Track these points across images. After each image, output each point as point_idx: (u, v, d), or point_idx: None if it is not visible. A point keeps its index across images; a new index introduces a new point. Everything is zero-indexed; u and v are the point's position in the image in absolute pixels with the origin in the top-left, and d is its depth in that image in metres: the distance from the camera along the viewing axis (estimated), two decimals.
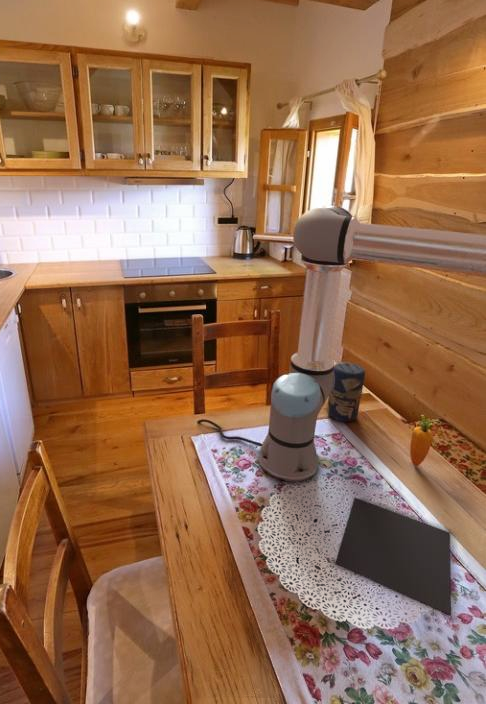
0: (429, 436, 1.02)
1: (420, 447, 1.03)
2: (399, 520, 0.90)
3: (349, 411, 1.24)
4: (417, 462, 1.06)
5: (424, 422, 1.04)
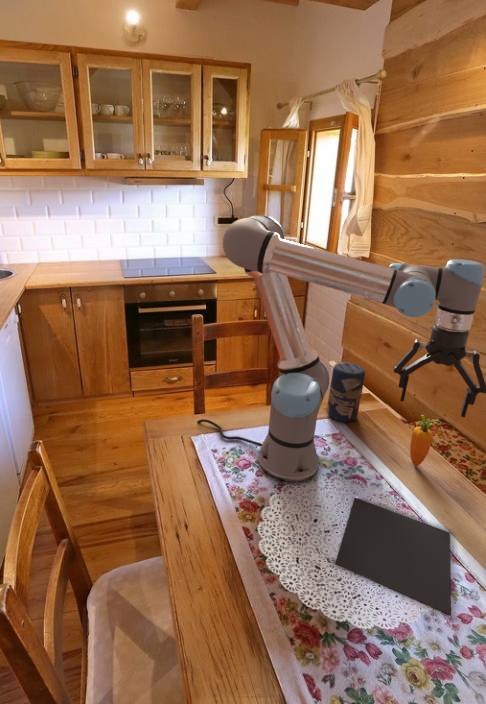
0: (429, 436, 1.02)
1: (420, 447, 1.03)
2: (399, 520, 0.90)
3: (349, 411, 1.24)
4: (417, 462, 1.06)
5: (424, 422, 1.04)
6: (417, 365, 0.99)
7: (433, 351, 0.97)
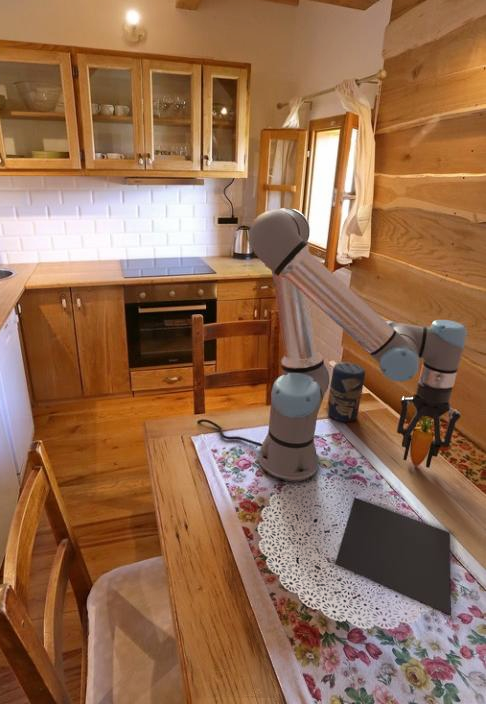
0: (429, 436, 1.02)
1: (420, 447, 1.03)
2: (399, 520, 0.90)
3: (349, 411, 1.24)
4: (417, 462, 1.06)
5: (424, 422, 1.04)
6: (413, 423, 1.04)
7: (419, 404, 1.02)
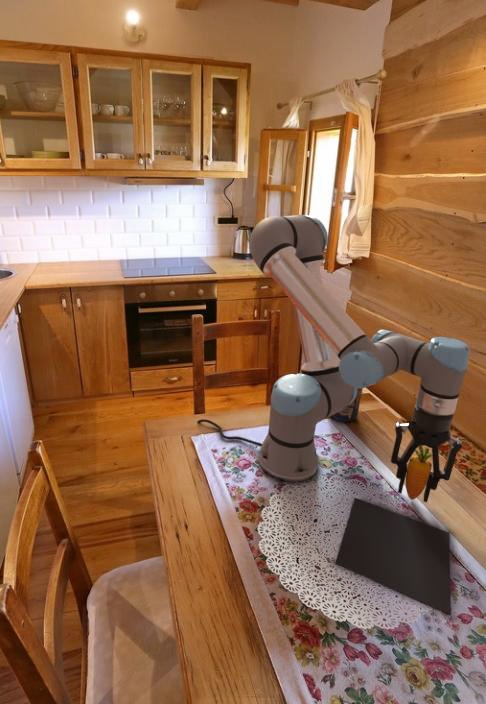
0: (427, 467, 0.91)
1: (417, 480, 0.92)
2: (399, 520, 0.90)
3: (349, 411, 1.24)
4: (413, 495, 0.94)
5: (421, 451, 0.92)
6: (408, 452, 0.92)
7: (415, 432, 0.90)
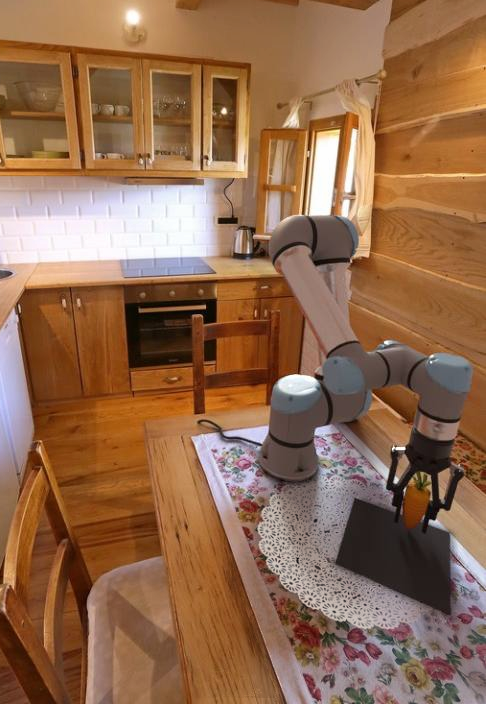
0: (426, 496, 0.82)
1: (414, 509, 0.83)
2: (399, 520, 0.90)
3: None
4: (411, 526, 0.86)
5: (419, 478, 0.84)
6: (405, 479, 0.83)
7: (413, 457, 0.81)
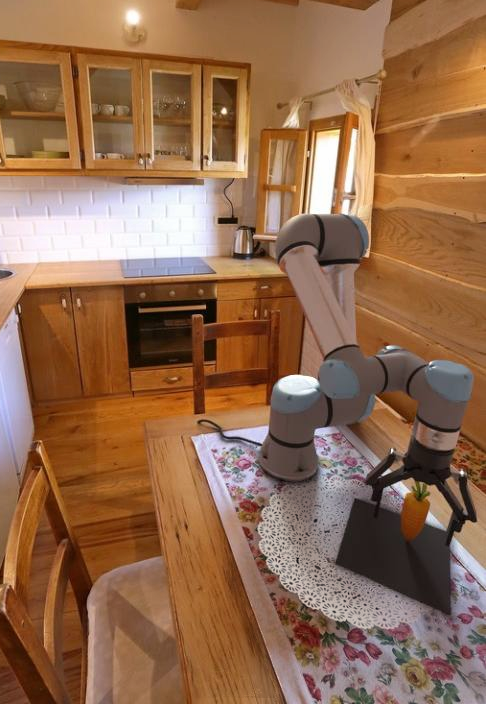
0: (425, 507, 0.80)
1: (413, 520, 0.81)
2: (399, 520, 0.90)
3: None
4: (409, 537, 0.83)
5: (418, 488, 0.81)
6: (392, 480, 0.81)
7: (411, 466, 0.79)
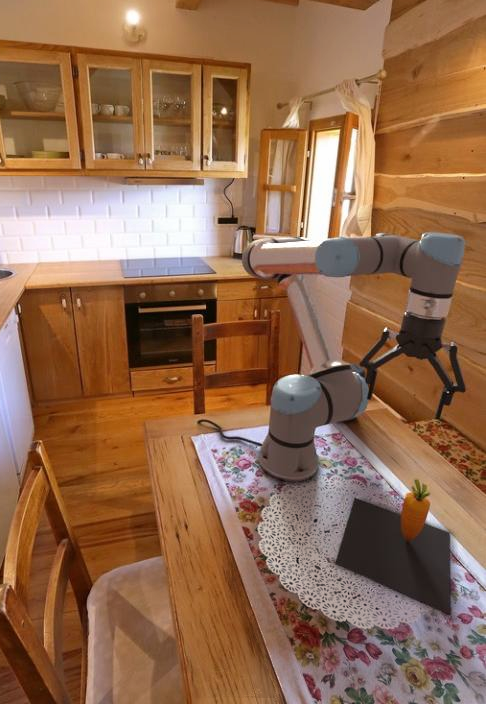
0: (425, 507, 0.80)
1: (413, 520, 0.81)
2: (399, 520, 0.90)
3: None
4: (409, 537, 0.83)
5: (418, 488, 0.81)
6: (386, 358, 0.85)
7: (404, 342, 0.82)
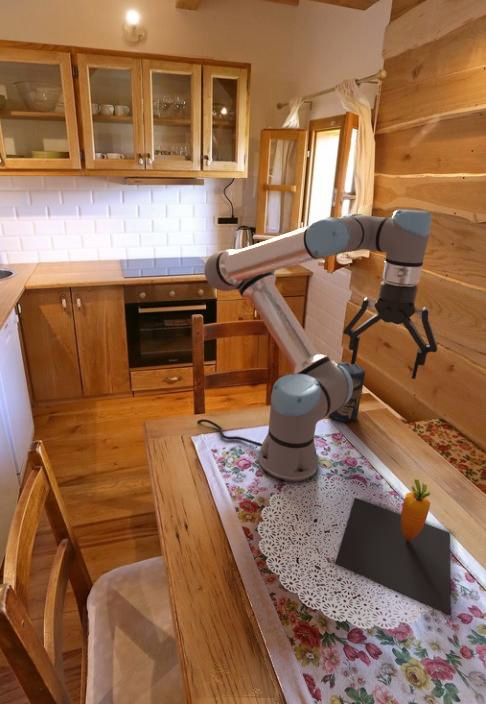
0: (425, 506, 0.80)
1: (413, 520, 0.81)
2: (399, 520, 0.90)
3: (349, 411, 1.24)
4: (409, 537, 0.83)
5: (418, 488, 0.81)
6: (366, 325, 0.94)
7: (382, 309, 0.92)
